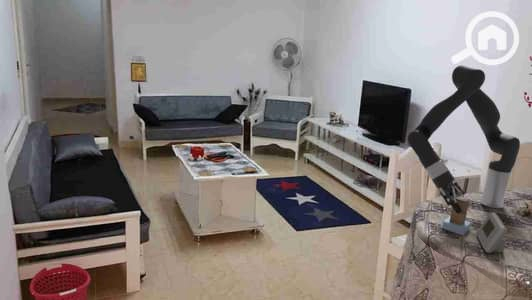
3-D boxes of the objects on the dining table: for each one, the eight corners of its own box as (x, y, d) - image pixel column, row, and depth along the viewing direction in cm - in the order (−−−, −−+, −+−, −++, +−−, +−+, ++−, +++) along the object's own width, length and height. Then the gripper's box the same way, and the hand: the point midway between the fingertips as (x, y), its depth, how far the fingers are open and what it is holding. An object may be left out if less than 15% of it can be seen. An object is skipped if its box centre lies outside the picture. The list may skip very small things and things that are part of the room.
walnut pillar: (453, 218, 174) (458, 195, 171) (464, 222, 171) (469, 198, 168) (449, 221, 170) (454, 198, 168) (461, 225, 168) (466, 201, 165)
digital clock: (475, 233, 169) (481, 208, 166) (501, 239, 165) (508, 214, 162) (475, 251, 154) (481, 224, 151) (503, 258, 151) (510, 230, 148)
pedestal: (449, 222, 177) (450, 215, 176) (469, 229, 172) (470, 222, 171) (442, 228, 171) (443, 221, 170) (463, 235, 166) (464, 228, 165)
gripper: (441, 173, 164) (466, 210, 161) (453, 166, 175) (477, 201, 171) (425, 182, 169) (449, 218, 165) (438, 175, 180) (461, 209, 176)
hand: (463, 209), depth 168 cm, fingers open, 8 cm apart
